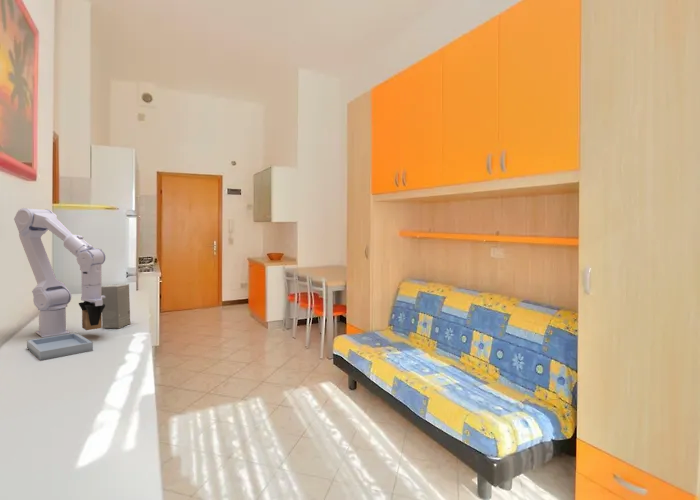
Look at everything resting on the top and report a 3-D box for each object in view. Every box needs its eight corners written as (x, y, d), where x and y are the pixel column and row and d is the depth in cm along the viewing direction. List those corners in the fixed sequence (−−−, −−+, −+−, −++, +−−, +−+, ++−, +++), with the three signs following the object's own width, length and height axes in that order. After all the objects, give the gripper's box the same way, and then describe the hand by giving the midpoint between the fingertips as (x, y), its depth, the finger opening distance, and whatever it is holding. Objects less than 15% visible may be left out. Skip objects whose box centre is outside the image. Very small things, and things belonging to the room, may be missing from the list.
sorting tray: (26, 348, 123) (26, 340, 123) (76, 340, 133) (76, 332, 133) (40, 360, 113) (40, 351, 113) (92, 350, 123) (92, 342, 123)
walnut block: (82, 327, 137) (82, 310, 137) (97, 325, 141) (96, 308, 140) (86, 330, 134) (86, 312, 134) (101, 327, 138) (101, 310, 137)
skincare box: (118, 329, 148) (118, 286, 147) (99, 328, 148) (99, 286, 148) (131, 323, 157) (131, 283, 156) (113, 323, 157) (113, 283, 156)
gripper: (112, 285, 135) (112, 325, 136) (97, 281, 144) (97, 318, 145) (88, 287, 130) (88, 329, 130) (74, 282, 139) (74, 321, 140)
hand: (91, 323), depth 137 cm, fingers closed on walnut block, 4 cm apart
